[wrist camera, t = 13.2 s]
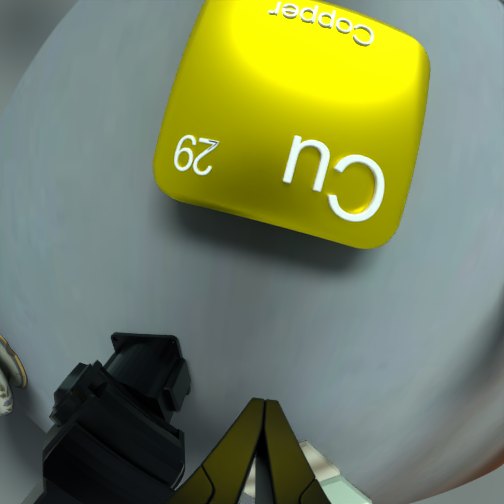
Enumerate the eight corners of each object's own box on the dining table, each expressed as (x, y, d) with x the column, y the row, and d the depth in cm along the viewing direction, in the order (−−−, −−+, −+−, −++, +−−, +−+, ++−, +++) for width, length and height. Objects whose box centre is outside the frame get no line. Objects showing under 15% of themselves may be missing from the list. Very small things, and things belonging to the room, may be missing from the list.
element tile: (408, 63, 16) (437, 42, 11) (367, 242, 20) (393, 261, 15) (221, 10, 16) (209, -23, 11) (168, 189, 20) (140, 195, 15)
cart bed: (212, 467, 28) (211, 472, 27) (306, 440, 25) (306, 445, 25) (255, 493, 30) (254, 498, 29) (339, 469, 27) (339, 474, 26)
